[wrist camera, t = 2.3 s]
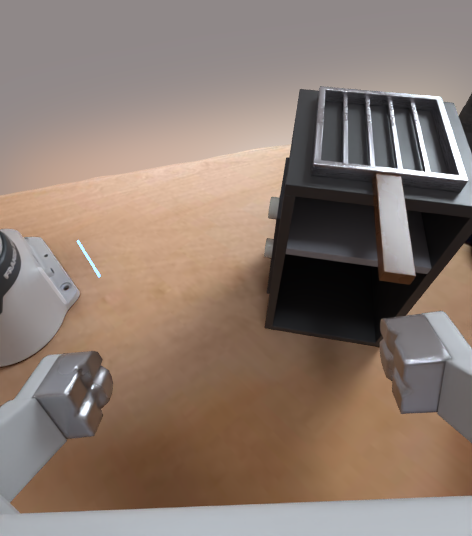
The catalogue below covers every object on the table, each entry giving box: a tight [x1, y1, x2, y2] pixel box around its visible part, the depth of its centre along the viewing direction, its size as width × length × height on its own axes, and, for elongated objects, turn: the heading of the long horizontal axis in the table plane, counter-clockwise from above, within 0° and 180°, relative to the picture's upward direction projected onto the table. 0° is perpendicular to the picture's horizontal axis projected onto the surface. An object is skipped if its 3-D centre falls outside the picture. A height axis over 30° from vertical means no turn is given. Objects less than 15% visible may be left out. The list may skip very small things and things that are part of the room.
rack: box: [311, 86, 468, 285], centre depth 29 cm, size 23×12×1 cm, turn 170°
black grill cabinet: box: [264, 89, 472, 347], centre depth 43 cm, size 16×17×26 cm
